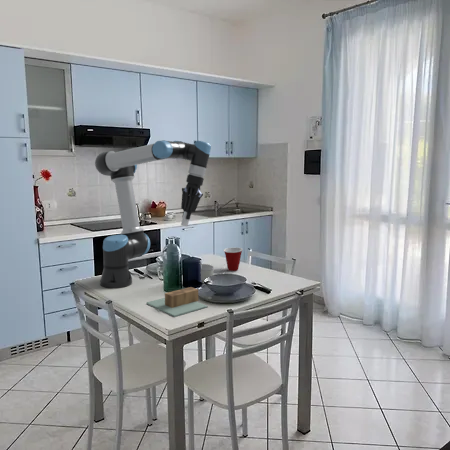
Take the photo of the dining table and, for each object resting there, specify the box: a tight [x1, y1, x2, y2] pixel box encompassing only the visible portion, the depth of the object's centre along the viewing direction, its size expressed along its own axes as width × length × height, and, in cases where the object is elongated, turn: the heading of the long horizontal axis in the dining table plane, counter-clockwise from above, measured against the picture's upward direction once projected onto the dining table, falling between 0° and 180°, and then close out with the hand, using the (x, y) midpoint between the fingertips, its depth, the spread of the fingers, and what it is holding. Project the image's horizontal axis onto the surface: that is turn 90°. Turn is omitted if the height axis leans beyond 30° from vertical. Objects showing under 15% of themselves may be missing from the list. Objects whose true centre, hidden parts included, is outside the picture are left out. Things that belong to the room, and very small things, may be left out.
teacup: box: [200, 263, 215, 284], centre depth 212 cm, size 14×11×8 cm
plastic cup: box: [223, 246, 243, 272], centre depth 236 cm, size 11×11×12 cm
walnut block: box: [164, 286, 199, 308], centre depth 179 cm, size 5×5×14 cm
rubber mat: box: [146, 297, 208, 318], centre depth 177 cm, size 20×17×1 cm
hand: (184, 225), depth 193 cm, fingers closed
